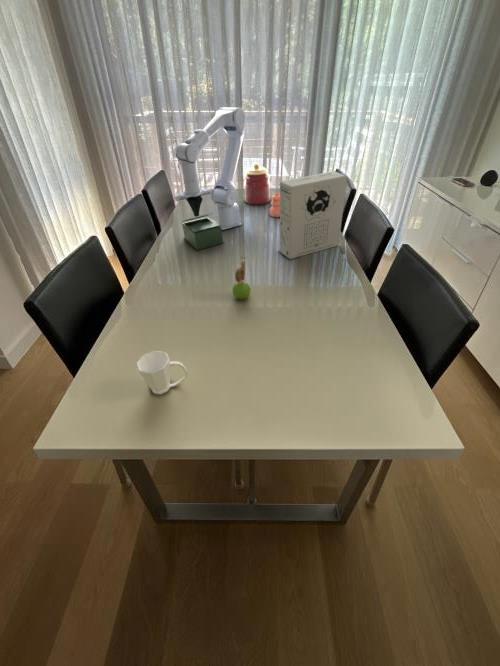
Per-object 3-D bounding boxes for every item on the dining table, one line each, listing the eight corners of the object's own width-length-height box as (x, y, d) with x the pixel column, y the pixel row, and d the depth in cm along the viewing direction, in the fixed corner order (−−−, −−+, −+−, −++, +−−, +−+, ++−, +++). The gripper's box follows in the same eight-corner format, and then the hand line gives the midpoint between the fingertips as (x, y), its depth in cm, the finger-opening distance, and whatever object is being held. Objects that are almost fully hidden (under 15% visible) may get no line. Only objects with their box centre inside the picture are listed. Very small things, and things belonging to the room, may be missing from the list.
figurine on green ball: (254, 292, 105) (252, 257, 98) (247, 303, 101) (245, 267, 93) (238, 290, 107) (235, 255, 99) (230, 301, 102) (226, 265, 95)
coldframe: (184, 238, 141) (181, 221, 136) (209, 232, 145) (207, 215, 140) (197, 250, 132) (194, 231, 127) (222, 242, 136) (221, 224, 131)
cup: (147, 377, 79) (138, 352, 74) (190, 372, 79) (184, 347, 74) (143, 401, 73) (133, 375, 68) (189, 395, 74) (182, 369, 69)
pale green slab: (182, 222, 136) (181, 221, 136) (207, 216, 140) (207, 215, 140) (186, 219, 130) (186, 218, 130) (212, 213, 134) (212, 212, 134)
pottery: (306, 208, 161) (307, 187, 155) (310, 215, 154) (311, 193, 147) (268, 211, 160) (268, 190, 154) (271, 218, 153) (270, 196, 147)
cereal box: (327, 238, 133) (333, 170, 118) (339, 245, 128) (347, 175, 112) (279, 251, 127) (279, 181, 111) (289, 259, 121) (291, 186, 106)
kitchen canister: (243, 205, 170) (240, 167, 158) (247, 196, 179) (245, 160, 168) (268, 205, 168) (268, 166, 156) (271, 196, 177) (271, 160, 166)
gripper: (176, 185, 121) (183, 223, 130) (213, 178, 126) (217, 214, 135) (170, 181, 126) (176, 217, 135) (205, 174, 131) (210, 209, 140)
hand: (196, 215), depth 135 cm, fingers closed
